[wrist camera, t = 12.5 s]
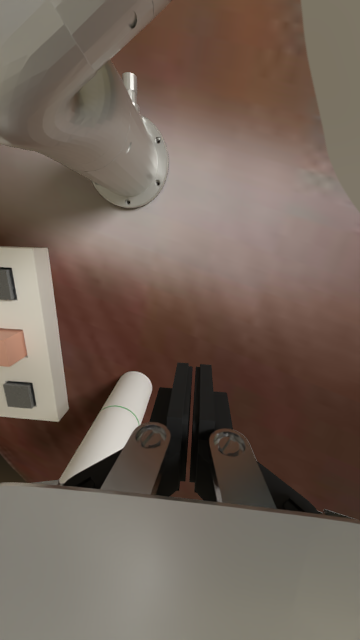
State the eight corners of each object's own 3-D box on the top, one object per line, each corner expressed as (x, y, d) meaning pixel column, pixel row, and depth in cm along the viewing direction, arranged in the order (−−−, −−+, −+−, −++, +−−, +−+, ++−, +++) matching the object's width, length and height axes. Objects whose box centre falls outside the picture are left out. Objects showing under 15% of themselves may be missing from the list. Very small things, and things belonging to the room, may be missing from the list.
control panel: (8, 403, 54) (-6, 415, 51) (-27, 244, 44) (-49, 245, 40) (68, 408, 53) (58, 421, 50) (47, 247, 43) (32, 248, 39)
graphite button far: (21, 371, 51) (2, 384, 47) (43, 373, 51) (27, 386, 46) (25, 391, 53) (7, 406, 48) (47, 393, 53) (31, 408, 48)
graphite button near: (0, 265, 45) (-24, 268, 40) (26, 266, 44) (5, 270, 40) (6, 292, 46) (-17, 298, 41) (31, 293, 46) (11, 300, 41)
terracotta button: (-1, 327, 45) (-25, 337, 40) (25, 329, 45) (3, 339, 40) (4, 352, 47) (-18, 364, 42) (29, 354, 46) (9, 366, 42)
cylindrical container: (112, 391, 51) (35, 521, 27) (126, 365, 49) (55, 482, 25) (143, 406, 52) (92, 547, 28) (158, 381, 49) (117, 511, 26)
